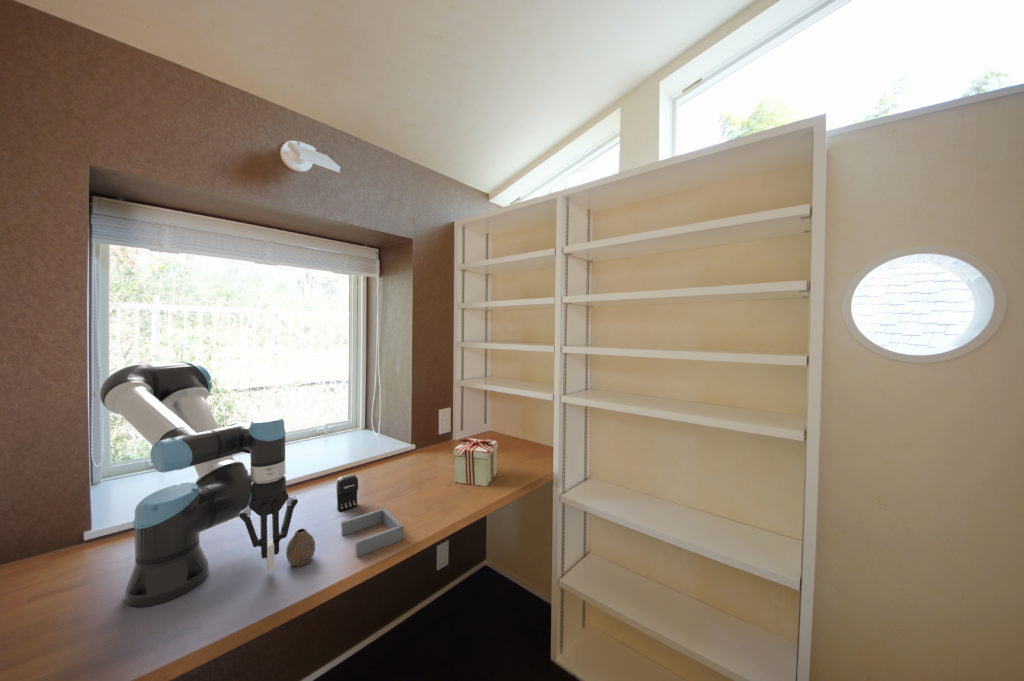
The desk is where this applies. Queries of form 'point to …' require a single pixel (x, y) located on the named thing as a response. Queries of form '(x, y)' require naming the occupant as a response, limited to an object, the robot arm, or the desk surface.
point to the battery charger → (346, 492)
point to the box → (375, 540)
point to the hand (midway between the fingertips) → (270, 567)
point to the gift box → (475, 461)
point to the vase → (300, 548)
